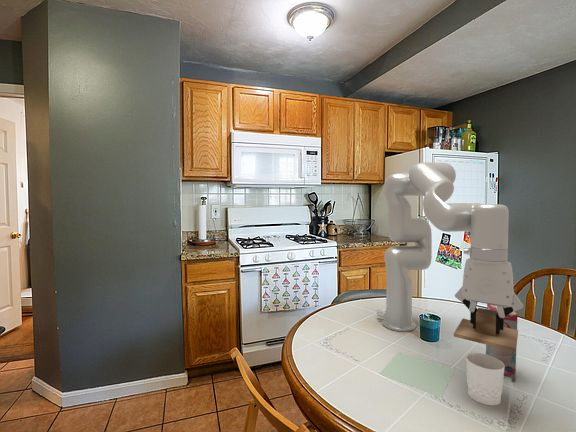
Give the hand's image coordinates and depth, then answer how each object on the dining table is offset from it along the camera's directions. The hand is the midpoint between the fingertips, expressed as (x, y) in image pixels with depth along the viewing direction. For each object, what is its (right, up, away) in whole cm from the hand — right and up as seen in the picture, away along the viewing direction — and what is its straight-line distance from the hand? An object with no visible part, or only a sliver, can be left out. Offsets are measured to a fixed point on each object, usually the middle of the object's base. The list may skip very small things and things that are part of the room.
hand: (486, 328), depth 74 cm
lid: (0, -1, 0) cm, 1 cm away
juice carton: (+12, -18, +13) cm, 25 cm away
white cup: (0, -18, +1) cm, 18 cm away
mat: (-12, -17, +12) cm, 24 cm away
